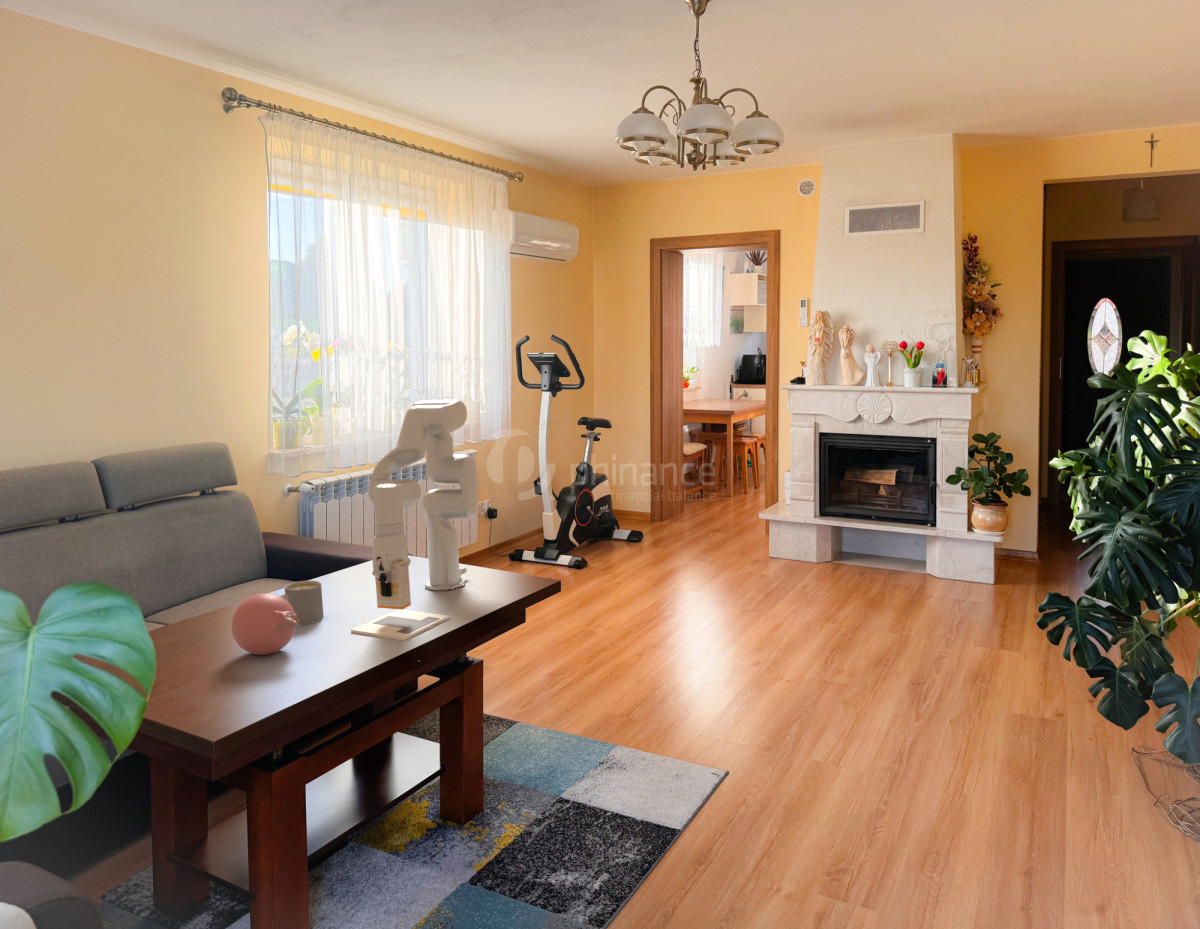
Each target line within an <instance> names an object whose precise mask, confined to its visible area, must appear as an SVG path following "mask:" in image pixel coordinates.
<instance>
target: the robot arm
mask: <svg viewBox="0 0 1200 929" xmlns="http://www.w3.org/2000/svg"><path fill="white" fill-rule="evenodd" d="M404 415H405V416H404V418H403V420H402V421H403V422H402V425H401V428H400V433H399V435H398V436H399V437H398V440H397V443H396V446H395V447H394V448H393V449H392V450H390V451H388V453H387V454H385V455H384V456H383V457H382V458H381V459H380V460H379V461H378V462H377V464H376V465H375V467H374V469H373V471H372V474H371V479H370V482H369V484H368V492H367V493H368V499H369V501H370V502H371V503H372V505H373V507H374V522H375V523H374V524H375V525H374V526H375V535H374V537H373V542H372V543H373V544H372V569H373V570H372V571H371V572H372V576H374V578H375V577H376V578H377V579H378V580H379V582H380V584H381V596H385V597H391V596H392V592H391V582H389V579H390V572H391V571H392V570H393V564H394V563H396V562H398V561H401V560H408V567H409V566H410V565H411V563H412V561H411V559H410V557H409V550H408V543H407V538H406V533H405V529H404V528H405V526H404V509H403V508H405V507H412V506H414V505H415V504H417V503H418V502H419V500H420V498H421V495H422V494H421V493H422V490H421V486H420V484H418V482H417V481H415V480H413V479H397V478H395V479H392V478H390V477H391V476H392V475H393V474H394V473H395V472H397V471H399V470H401V469H403V468H405V467H408V466H410V465H412V464H415V463H417V462H419V461H421V460H422V459H423V458H424V457H425V461H426V464H425V466H426V468H425V469H426V477H427V479H428V481H429V483H431V484H436V485H459V486H460V488H434V489H433V488H432V489H430V490H428V491H426V492H425V493H424V494H423V496H422V501H421V503H422V510H423V513H424V519H425V525H426V538H427V555H428V574H429V575H428V576H429V579H428V580H427V581H426V582H424V583H425V584H424V586H425V588H426V589H428V590H431V591H449V590H448V589H451V590H454V589H453V588H456V589H458V588H457V587H459V588H461V587H460V586H462V585H463V584H464V583H465V579H464V578H461V577H462V575H463V574H466V573H467V568H466V567H462V568H460V561H459V560H460V559H459V558H460V557H459V543H458V542H459V541H458V529H457V527H456V526H455V524H454V522H453V521H452V520H451V519H454V520H455V519H458V520H459V519H461V520H463V519H464V520H465V519H472V518H474V517H475V516H476V515H477V513H478V508H479V488H478V486H479V485H478V483H479V482H478V468H477V462H476V460H475V459H474V457H473V456H471V455H469V454H464V453H463V454H455V453H454V444H453V443H454V441H453V436H452V434H451V433H454V432H455V431H457V430H458V429H460V428H461V429H462V427H463V426H464V425H465V423H466V421H467V419H468V410H467V407H466V405H465V403H464V402H463V401H461V400H459V399H444V400H443V399H442V400H441V399H439V400H438V399H437V400H436V399H435V400H434V399H431V400H429V399H426V400H419V401H417V402H415V403H413V404H412V406H411V407H410V408H408V409H407V410H406V412H405V414H404ZM389 478H390V479H389ZM383 569H384V571H383ZM384 573H386V576H384ZM465 584H466V583H465ZM465 584H464V585H465ZM464 585H463V586H464ZM463 586H462V587H463Z"/></svg>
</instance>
